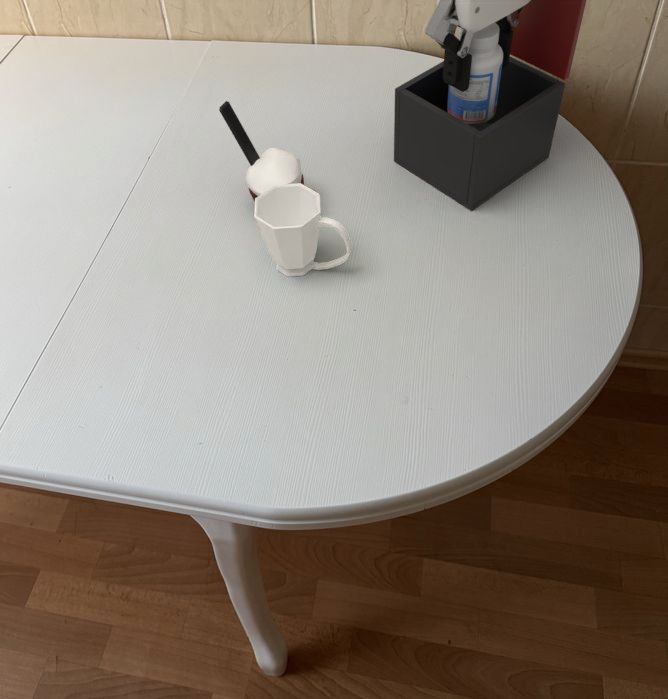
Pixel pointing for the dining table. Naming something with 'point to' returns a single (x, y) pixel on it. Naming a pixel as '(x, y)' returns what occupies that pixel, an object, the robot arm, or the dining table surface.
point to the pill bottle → (479, 79)
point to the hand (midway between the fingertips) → (475, 72)
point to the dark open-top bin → (476, 133)
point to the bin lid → (548, 34)
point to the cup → (294, 228)
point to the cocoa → (263, 159)
